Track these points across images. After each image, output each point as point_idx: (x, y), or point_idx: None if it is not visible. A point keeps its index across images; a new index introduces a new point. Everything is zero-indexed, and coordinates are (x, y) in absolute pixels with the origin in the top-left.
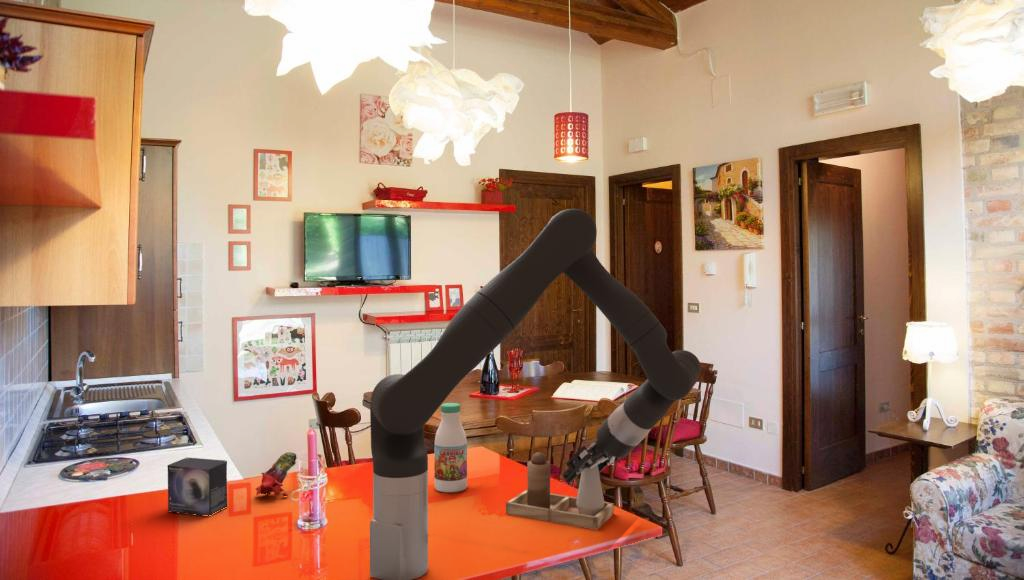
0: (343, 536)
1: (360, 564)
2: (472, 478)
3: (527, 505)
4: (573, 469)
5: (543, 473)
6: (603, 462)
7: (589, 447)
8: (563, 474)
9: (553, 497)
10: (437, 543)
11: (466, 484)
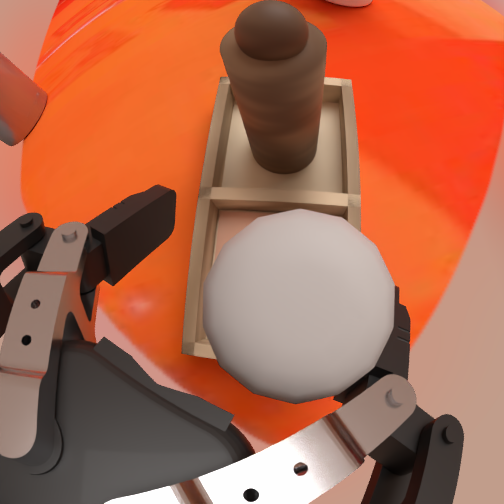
0: (109, 17)
1: (43, 78)
2: (411, 9)
3: (218, 123)
4: (22, 270)
5: (239, 90)
6: (350, 389)
7: (1, 360)
8: (131, 195)
9: (345, 156)
10: (90, 88)
11: (357, 1)
